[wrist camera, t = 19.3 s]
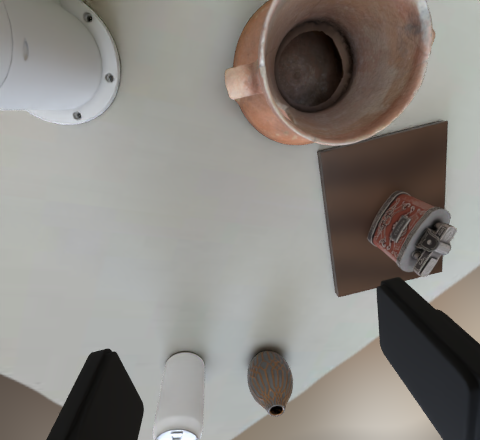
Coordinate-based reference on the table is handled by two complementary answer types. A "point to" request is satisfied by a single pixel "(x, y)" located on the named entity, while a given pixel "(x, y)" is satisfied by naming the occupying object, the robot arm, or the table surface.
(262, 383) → the vase
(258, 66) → the ceramic jug
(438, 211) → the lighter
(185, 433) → the can
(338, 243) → the walnut board
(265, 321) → the table surface
